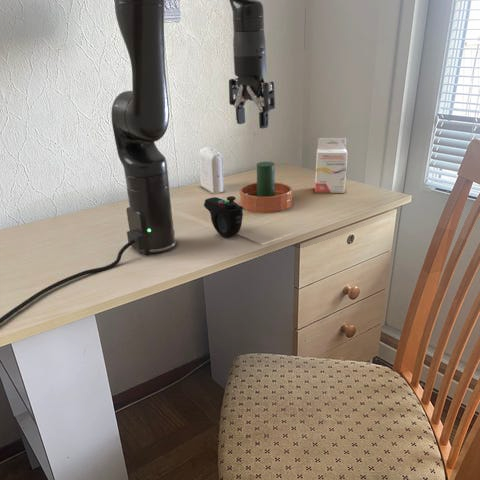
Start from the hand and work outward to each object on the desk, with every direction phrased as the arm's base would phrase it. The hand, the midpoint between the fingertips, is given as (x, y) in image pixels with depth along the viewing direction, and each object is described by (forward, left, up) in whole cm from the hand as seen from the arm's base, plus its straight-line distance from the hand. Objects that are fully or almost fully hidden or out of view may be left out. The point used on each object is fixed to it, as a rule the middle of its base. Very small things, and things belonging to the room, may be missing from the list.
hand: (252, 125), depth 129 cm
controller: (-17, -8, -22) cm, 29 cm away
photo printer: (+4, +24, -22) cm, 33 cm away
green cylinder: (+5, +1, -22) cm, 22 cm away
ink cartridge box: (+27, -3, -22) cm, 35 cm away
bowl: (+5, +1, -22) cm, 22 cm away
